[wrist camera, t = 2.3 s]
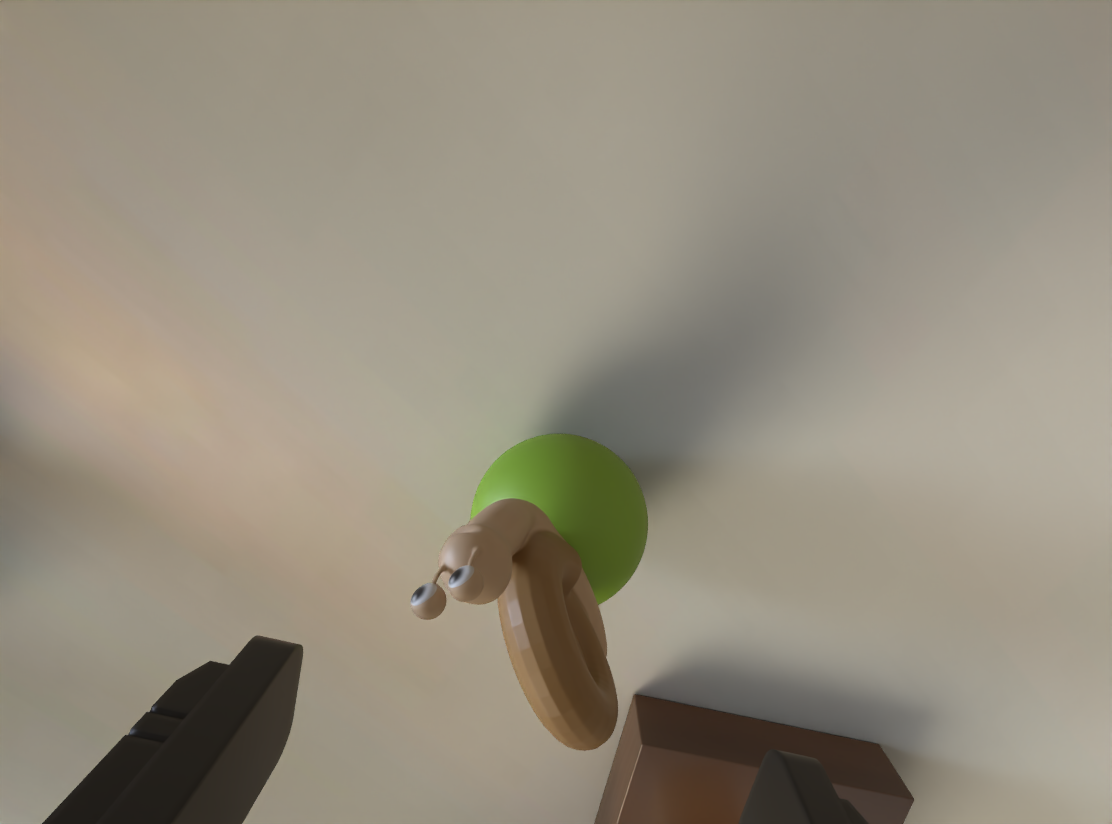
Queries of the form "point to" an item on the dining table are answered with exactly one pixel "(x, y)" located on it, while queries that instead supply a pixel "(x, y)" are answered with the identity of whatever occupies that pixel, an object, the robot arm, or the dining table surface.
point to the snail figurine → (550, 572)
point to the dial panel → (730, 767)
